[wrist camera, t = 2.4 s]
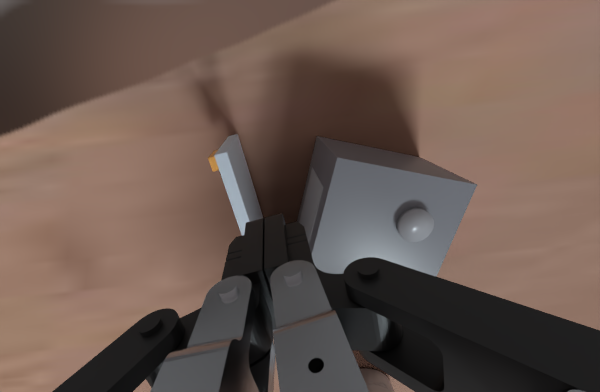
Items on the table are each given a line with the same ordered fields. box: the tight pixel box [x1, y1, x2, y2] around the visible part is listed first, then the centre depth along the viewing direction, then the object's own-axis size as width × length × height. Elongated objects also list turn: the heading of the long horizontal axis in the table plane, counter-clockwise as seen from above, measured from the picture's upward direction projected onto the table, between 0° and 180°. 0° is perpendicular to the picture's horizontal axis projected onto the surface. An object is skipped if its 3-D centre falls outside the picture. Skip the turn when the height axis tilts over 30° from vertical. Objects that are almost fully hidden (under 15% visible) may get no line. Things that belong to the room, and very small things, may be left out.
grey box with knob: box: [297, 136, 477, 277], centre depth 25 cm, size 17×10×9 cm, turn 168°
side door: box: [208, 134, 263, 236], centre depth 24 cm, size 16×2×7 cm, turn 13°
